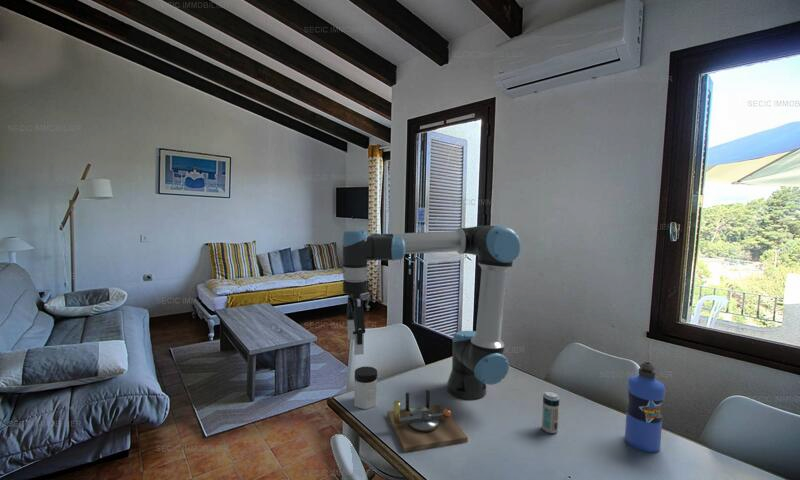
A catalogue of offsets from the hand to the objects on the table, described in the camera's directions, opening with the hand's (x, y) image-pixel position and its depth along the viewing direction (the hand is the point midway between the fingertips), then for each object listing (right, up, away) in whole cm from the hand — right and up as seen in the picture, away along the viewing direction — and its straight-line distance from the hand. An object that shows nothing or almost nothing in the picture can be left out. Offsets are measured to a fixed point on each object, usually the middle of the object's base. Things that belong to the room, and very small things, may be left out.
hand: (355, 346), depth 117 cm
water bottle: (+88, -28, -4) cm, 93 cm away
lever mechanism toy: (+22, -27, +1) cm, 35 cm away
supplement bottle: (+62, -28, +2) cm, 68 cm away
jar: (+2, -25, +16) cm, 30 cm away
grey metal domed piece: (+22, -25, +1) cm, 33 cm away
